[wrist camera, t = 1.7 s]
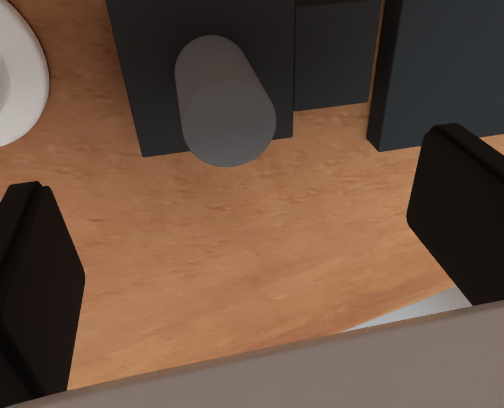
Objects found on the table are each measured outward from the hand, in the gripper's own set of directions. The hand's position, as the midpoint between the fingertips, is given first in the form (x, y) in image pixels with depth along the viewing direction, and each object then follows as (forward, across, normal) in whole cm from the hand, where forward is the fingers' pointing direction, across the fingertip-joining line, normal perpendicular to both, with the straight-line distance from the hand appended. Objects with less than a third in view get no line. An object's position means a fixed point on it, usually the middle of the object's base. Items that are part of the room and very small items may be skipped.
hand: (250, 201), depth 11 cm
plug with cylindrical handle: (+10, -2, 0) cm, 10 cm away
